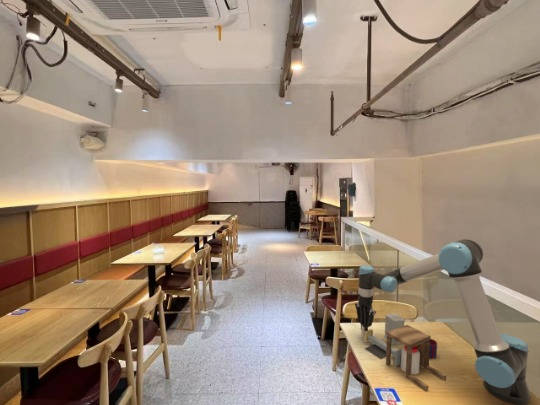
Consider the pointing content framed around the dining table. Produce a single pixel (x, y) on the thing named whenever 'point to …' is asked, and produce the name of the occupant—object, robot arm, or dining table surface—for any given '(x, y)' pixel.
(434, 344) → the mug
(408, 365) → the tunnel
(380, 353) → the mat
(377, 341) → the plunger
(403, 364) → the pill bottle
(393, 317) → the small box
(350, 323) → the dining table surface
